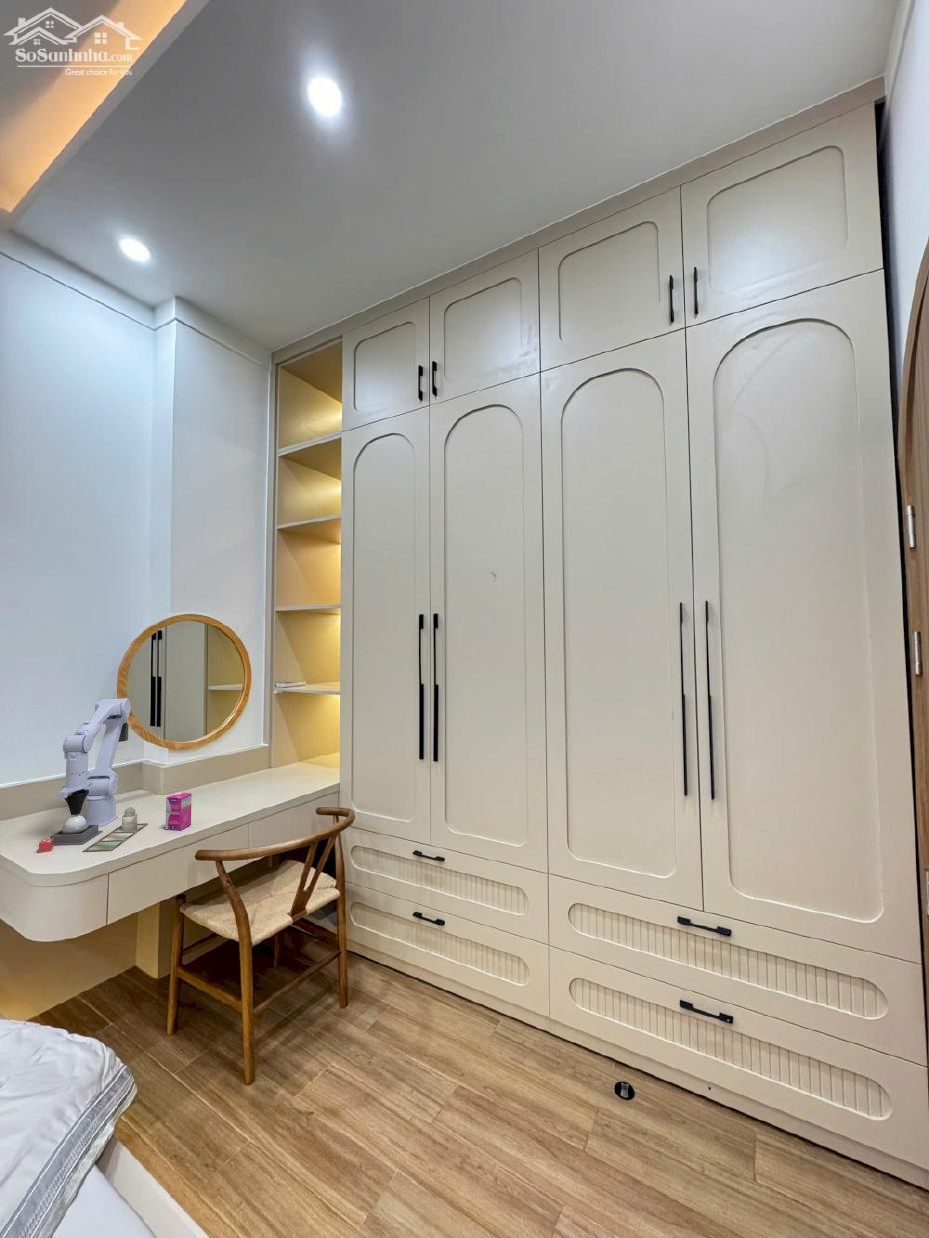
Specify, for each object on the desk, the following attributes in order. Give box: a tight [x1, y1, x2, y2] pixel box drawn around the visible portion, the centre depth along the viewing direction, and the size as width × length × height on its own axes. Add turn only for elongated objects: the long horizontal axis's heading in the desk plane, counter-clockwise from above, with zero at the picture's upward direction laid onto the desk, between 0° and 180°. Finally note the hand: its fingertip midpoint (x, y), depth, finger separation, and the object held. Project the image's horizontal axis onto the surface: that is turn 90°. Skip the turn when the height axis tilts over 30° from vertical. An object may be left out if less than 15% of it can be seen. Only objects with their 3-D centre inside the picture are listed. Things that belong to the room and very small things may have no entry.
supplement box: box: [165, 791, 193, 832], centre depth 181 cm, size 6×6×12 cm
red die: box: [38, 838, 55, 854], centre depth 161 cm, size 3×3×3 cm
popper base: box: [49, 824, 103, 847], centre depth 170 cm, size 11×11×3 cm
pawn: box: [121, 806, 138, 831], centre depth 179 cm, size 4×4×7 cm
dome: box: [61, 814, 89, 835], centre depth 171 cm, size 7×7×6 cm
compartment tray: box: [82, 822, 149, 853], centre depth 172 cm, size 23×8×1 cm, turn 7°
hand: (75, 814), depth 171 cm, fingers closed
